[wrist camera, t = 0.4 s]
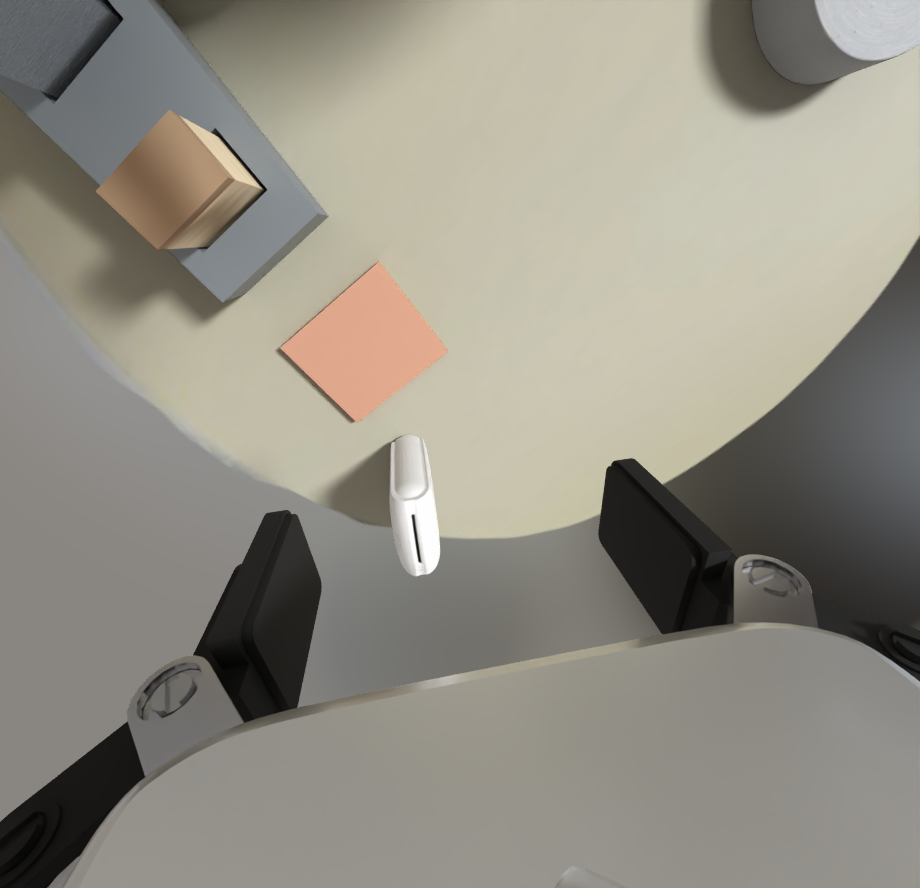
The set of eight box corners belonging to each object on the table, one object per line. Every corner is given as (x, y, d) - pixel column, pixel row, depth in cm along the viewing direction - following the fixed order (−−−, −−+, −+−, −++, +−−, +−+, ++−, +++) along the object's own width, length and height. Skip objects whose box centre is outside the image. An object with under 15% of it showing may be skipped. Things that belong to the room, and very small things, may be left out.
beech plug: (243, 150, 29) (169, 109, 20) (280, 195, 31) (228, 177, 21) (190, 205, 30) (95, 191, 21) (228, 245, 32) (157, 249, 22)
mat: (378, 261, 34) (378, 262, 33) (446, 349, 39) (447, 351, 38) (282, 345, 36) (280, 348, 35) (357, 419, 41) (356, 422, 40)
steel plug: (110, -10, 24) (-72, -165, 15) (162, 53, 26) (27, -51, 17) (53, 62, 26) (-151, -41, 16) (106, 117, 27) (-50, 54, 18)
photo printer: (434, 504, 48) (445, 583, 37) (399, 509, 47) (400, 590, 37) (426, 431, 43) (436, 497, 32) (387, 436, 42) (384, 504, 32)
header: (75, -104, 23) (-1, -184, 18) (328, 216, 32) (318, 213, 28) (-21, 28, 24) (-111, -17, 20) (244, 294, 34) (222, 302, 29)
